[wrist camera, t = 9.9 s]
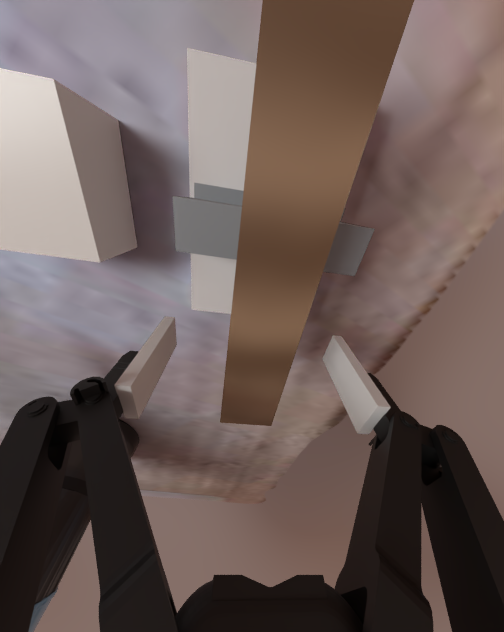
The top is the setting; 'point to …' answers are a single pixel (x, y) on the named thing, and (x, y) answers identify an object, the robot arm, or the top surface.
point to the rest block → (60, 173)
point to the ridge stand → (229, 182)
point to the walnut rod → (299, 177)
